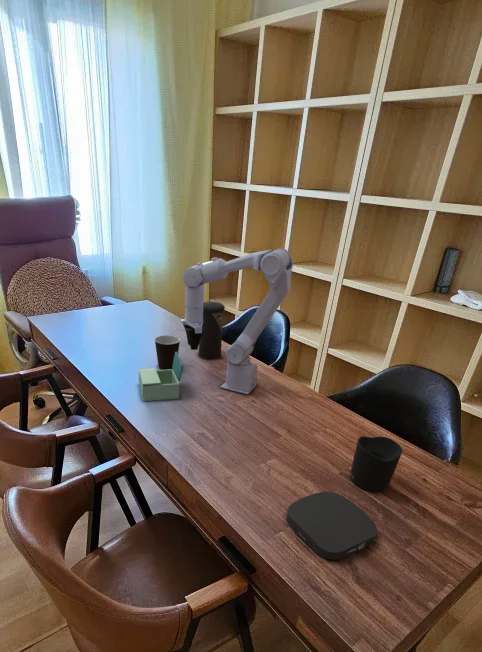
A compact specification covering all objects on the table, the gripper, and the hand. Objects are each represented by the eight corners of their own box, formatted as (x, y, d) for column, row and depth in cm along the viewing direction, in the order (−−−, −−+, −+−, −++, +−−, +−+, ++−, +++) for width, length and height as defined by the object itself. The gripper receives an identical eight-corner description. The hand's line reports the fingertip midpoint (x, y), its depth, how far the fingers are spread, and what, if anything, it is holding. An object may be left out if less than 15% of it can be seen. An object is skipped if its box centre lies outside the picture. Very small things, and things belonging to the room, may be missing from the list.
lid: (172, 367, 137) (173, 367, 137) (178, 381, 128) (179, 381, 128) (175, 351, 134) (176, 351, 134) (181, 365, 125) (183, 365, 125)
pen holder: (357, 463, 105) (366, 429, 100) (395, 479, 100) (407, 445, 95) (341, 481, 99) (351, 446, 94) (381, 499, 94) (394, 463, 89)
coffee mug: (168, 373, 146) (168, 346, 141) (150, 366, 150) (149, 339, 145) (189, 363, 154) (190, 337, 149) (171, 357, 158) (171, 331, 153)
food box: (172, 383, 140) (172, 366, 137) (178, 398, 131) (179, 381, 128) (139, 385, 137) (138, 368, 134) (143, 401, 128) (142, 384, 125)
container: (221, 360, 158) (225, 307, 147) (197, 359, 158) (199, 305, 147) (221, 351, 165) (224, 300, 155) (197, 350, 165) (200, 299, 155)
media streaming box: (331, 495, 95) (333, 485, 93) (383, 540, 84) (387, 529, 82) (278, 515, 88) (280, 505, 87) (327, 567, 77) (330, 555, 76)
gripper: (177, 299, 138) (176, 339, 145) (186, 313, 126) (185, 356, 133) (198, 299, 140) (196, 338, 147) (209, 312, 128) (207, 355, 135)
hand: (192, 347), depth 140 cm, fingers open, 3 cm apart
